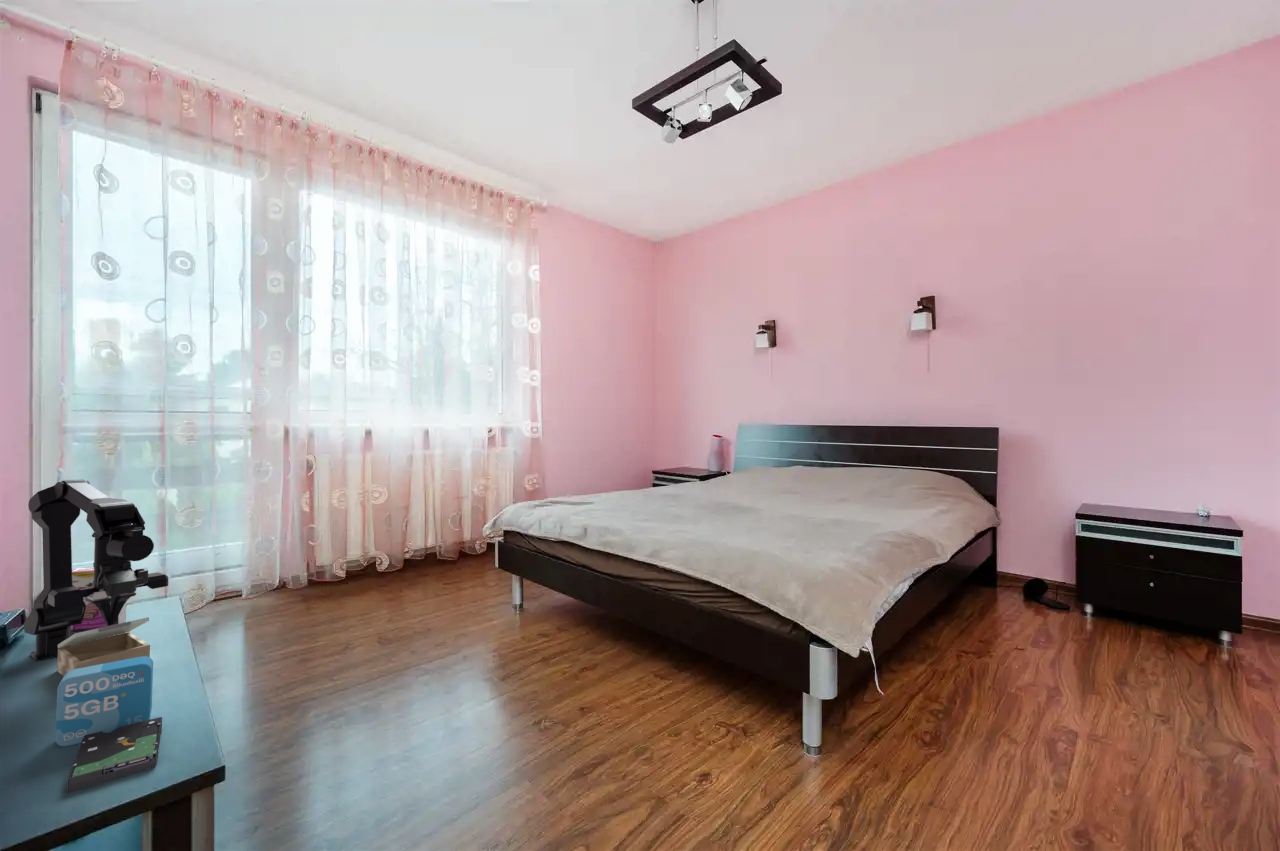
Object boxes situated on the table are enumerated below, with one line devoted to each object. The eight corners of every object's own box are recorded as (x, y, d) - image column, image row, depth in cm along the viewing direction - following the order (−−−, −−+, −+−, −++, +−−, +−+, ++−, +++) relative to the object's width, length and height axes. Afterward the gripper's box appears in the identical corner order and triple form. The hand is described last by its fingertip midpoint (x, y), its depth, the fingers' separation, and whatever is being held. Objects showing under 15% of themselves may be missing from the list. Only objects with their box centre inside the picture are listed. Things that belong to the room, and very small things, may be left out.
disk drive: (81, 751, 91) (66, 796, 80) (82, 735, 91) (66, 777, 80) (162, 730, 98) (158, 769, 87) (162, 715, 98) (158, 752, 87)
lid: (56, 649, 120) (56, 644, 120) (127, 632, 130) (127, 628, 130) (77, 636, 112) (77, 631, 113) (151, 619, 123) (150, 615, 123)
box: (57, 670, 119) (57, 648, 119) (128, 652, 130) (128, 632, 130) (75, 687, 112) (76, 663, 112) (149, 666, 123) (150, 644, 123)
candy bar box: (63, 633, 141) (65, 572, 141) (73, 627, 145) (75, 567, 146) (118, 627, 146) (120, 568, 146) (126, 621, 150) (128, 564, 150)
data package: (54, 750, 91) (57, 680, 91) (60, 738, 94) (62, 670, 94) (149, 726, 98) (151, 661, 98) (151, 716, 102) (153, 653, 102)
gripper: (62, 570, 108) (60, 647, 107) (178, 553, 124) (176, 620, 123) (48, 564, 113) (46, 637, 113) (160, 548, 129) (158, 612, 129)
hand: (110, 626), depth 119 cm, fingers closed, pressing on lid
